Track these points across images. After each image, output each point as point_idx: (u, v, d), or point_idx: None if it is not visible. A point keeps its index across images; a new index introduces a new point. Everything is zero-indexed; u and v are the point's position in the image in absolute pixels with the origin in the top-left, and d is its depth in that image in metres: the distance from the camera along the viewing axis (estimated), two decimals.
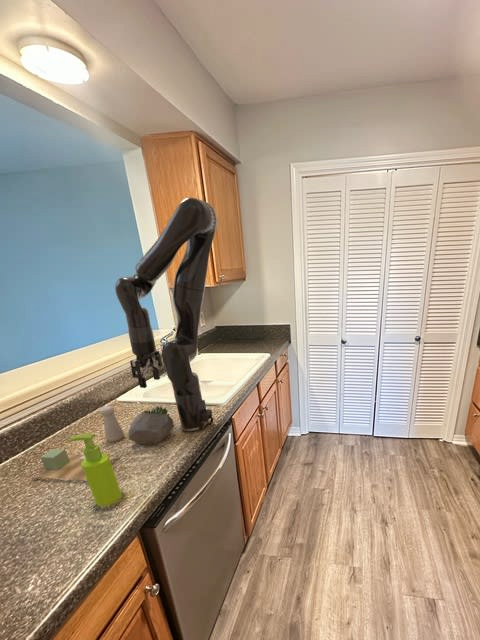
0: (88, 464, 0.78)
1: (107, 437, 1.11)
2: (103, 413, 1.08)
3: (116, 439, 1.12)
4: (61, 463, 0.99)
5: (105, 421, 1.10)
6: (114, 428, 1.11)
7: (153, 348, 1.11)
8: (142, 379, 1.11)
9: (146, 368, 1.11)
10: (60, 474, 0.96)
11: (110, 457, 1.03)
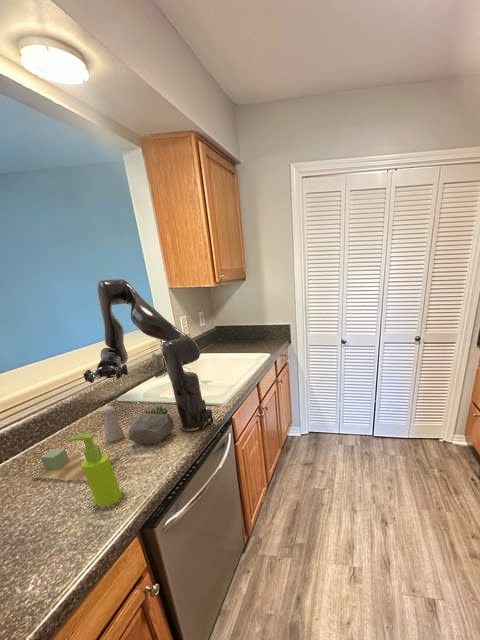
0: (88, 464, 0.78)
1: (107, 437, 1.11)
2: (103, 413, 1.08)
3: (116, 439, 1.12)
4: (61, 463, 0.99)
5: (105, 421, 1.10)
6: (114, 428, 1.11)
7: (105, 359, 1.26)
8: (89, 376, 1.17)
9: (96, 370, 1.20)
10: (60, 474, 0.96)
11: (110, 457, 1.03)
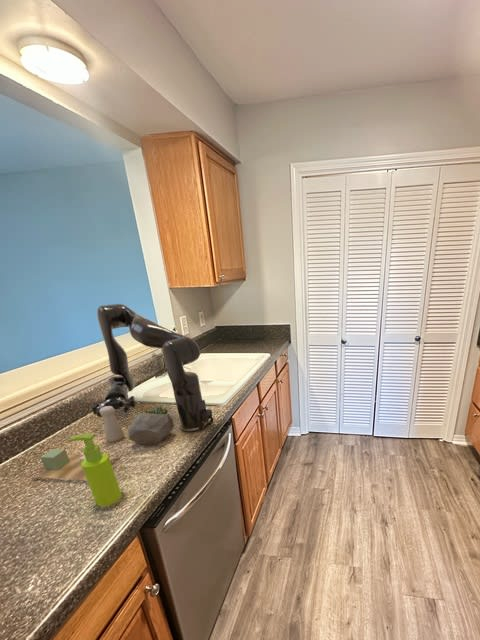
0: (88, 464, 0.78)
1: (107, 437, 1.11)
2: (103, 413, 1.08)
3: (116, 439, 1.12)
4: (61, 463, 0.99)
5: (105, 421, 1.10)
6: (114, 428, 1.11)
7: (113, 391, 1.27)
8: (97, 409, 1.19)
9: (104, 403, 1.22)
10: (60, 474, 0.96)
11: (110, 457, 1.03)
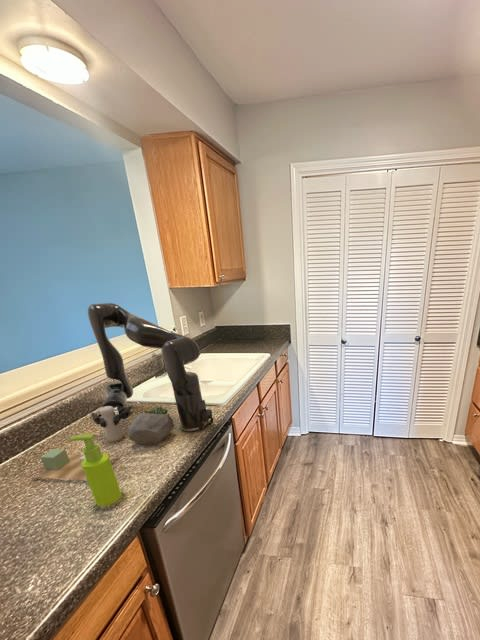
0: (88, 464, 0.78)
1: (107, 437, 1.11)
2: (103, 413, 1.08)
3: (116, 439, 1.12)
4: (61, 463, 0.99)
5: (105, 421, 1.10)
6: (114, 428, 1.11)
7: (110, 399, 1.20)
8: (101, 419, 1.11)
9: None
10: (60, 474, 0.96)
11: (110, 457, 1.03)
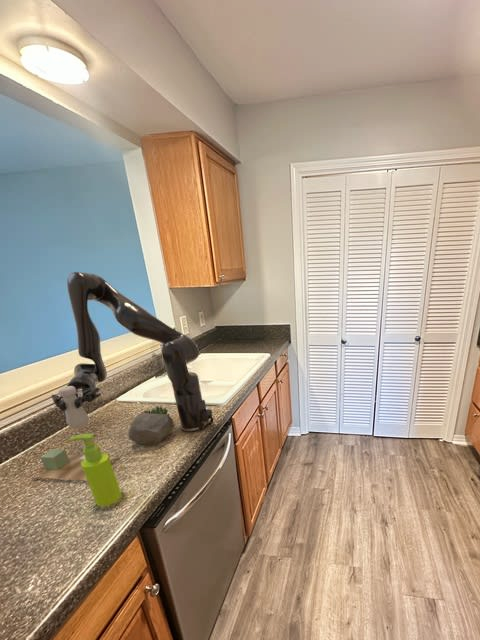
0: (88, 464, 0.78)
1: (68, 422, 0.97)
2: (62, 393, 0.94)
3: (79, 424, 0.98)
4: (61, 463, 0.99)
5: (65, 404, 0.96)
6: (76, 411, 0.97)
7: (75, 379, 1.05)
8: (61, 402, 0.96)
9: None
10: (60, 474, 0.96)
11: (110, 457, 1.03)
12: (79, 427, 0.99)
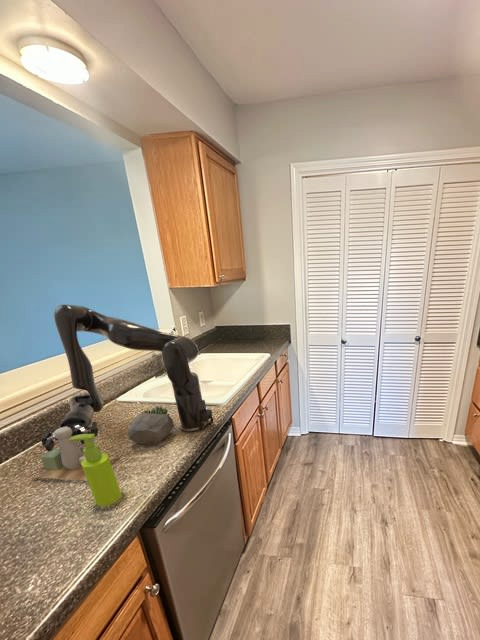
0: (88, 464, 0.78)
1: (64, 463, 0.96)
2: (57, 435, 0.93)
3: (74, 465, 0.97)
4: (61, 463, 0.99)
5: (61, 445, 0.95)
6: (72, 452, 0.96)
7: (70, 415, 1.04)
8: (47, 441, 0.95)
9: None
10: (60, 474, 0.96)
11: (110, 457, 1.03)
12: (75, 468, 0.97)
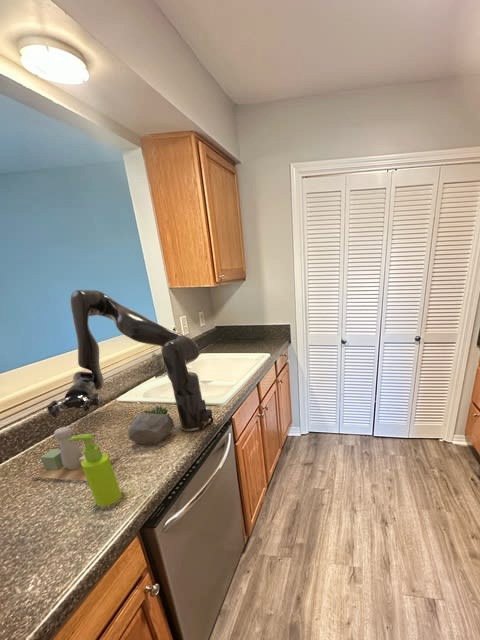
0: (88, 464, 0.78)
1: (64, 463, 0.96)
2: (57, 435, 0.93)
3: (74, 465, 0.97)
4: (61, 463, 0.99)
5: (61, 445, 0.95)
6: (72, 452, 0.96)
7: (74, 387, 1.13)
8: (53, 409, 1.04)
9: (62, 401, 1.07)
10: (60, 474, 0.96)
11: (110, 457, 1.03)
12: (75, 468, 0.97)
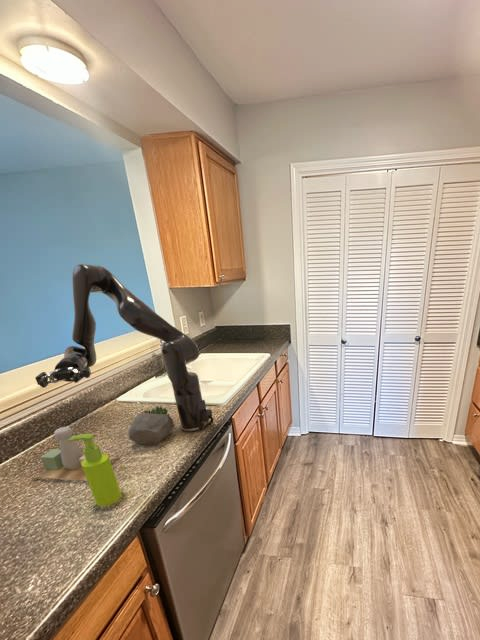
0: (88, 464, 0.78)
1: (64, 463, 0.96)
2: (57, 435, 0.93)
3: (74, 465, 0.97)
4: (61, 463, 0.99)
5: (61, 445, 0.95)
6: (72, 452, 0.96)
7: (64, 359, 1.09)
8: (42, 379, 1.00)
9: (51, 372, 1.03)
10: (60, 474, 0.96)
11: (110, 457, 1.03)
12: (75, 468, 0.97)
